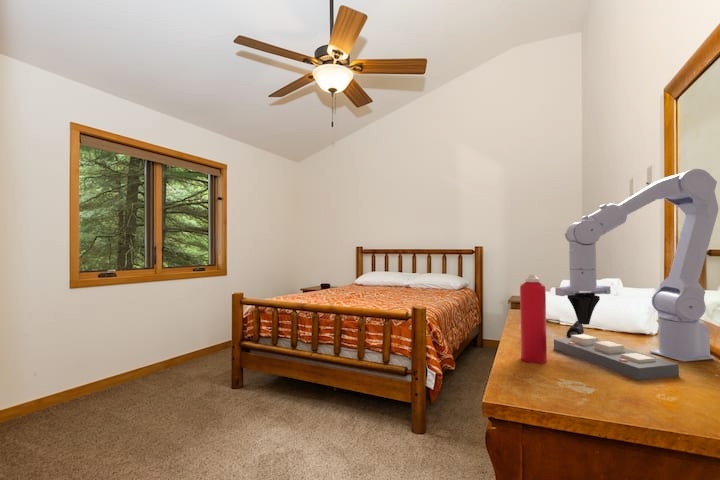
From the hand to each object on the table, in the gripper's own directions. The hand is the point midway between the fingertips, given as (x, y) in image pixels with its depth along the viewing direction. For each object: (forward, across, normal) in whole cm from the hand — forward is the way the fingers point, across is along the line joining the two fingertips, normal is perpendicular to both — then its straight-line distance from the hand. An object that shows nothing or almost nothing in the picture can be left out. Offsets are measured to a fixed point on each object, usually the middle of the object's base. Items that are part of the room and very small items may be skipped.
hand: (583, 323), depth 92 cm
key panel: (+7, 0, +7) cm, 10 cm away
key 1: (+7, 0, 0) cm, 7 cm away
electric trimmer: (+8, -14, -18) cm, 24 cm away
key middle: (+7, 0, +7) cm, 10 cm away
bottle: (+7, +16, +2) cm, 18 cm away
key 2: (+8, 0, +14) cm, 16 cm away
